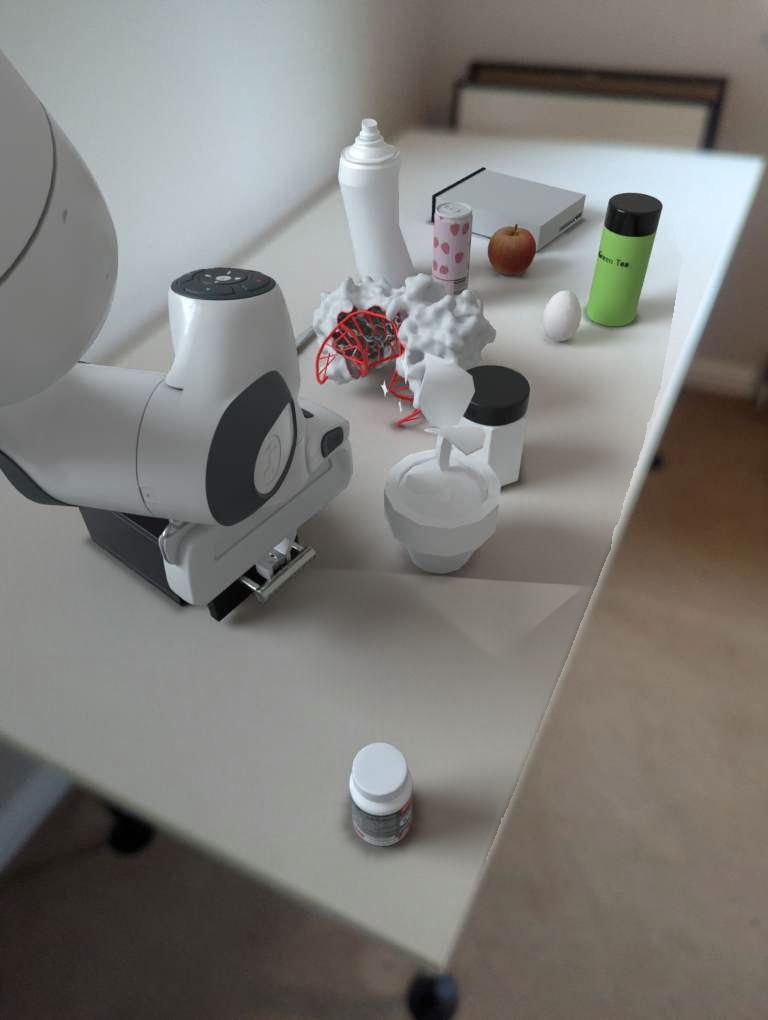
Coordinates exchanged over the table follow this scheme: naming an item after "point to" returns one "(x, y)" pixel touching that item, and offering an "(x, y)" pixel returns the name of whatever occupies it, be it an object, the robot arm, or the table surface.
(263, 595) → the drawer
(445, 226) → the beverage can
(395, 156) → the spray can
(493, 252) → the apple
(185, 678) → the table surface
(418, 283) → the molecular structure model
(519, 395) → the jar
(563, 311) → the egg
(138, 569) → the black drawer cabinet
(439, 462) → the potted plant
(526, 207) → the disc drive
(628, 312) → the tumbler
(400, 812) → the pill bottle
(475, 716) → the table surface
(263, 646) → the table surface
